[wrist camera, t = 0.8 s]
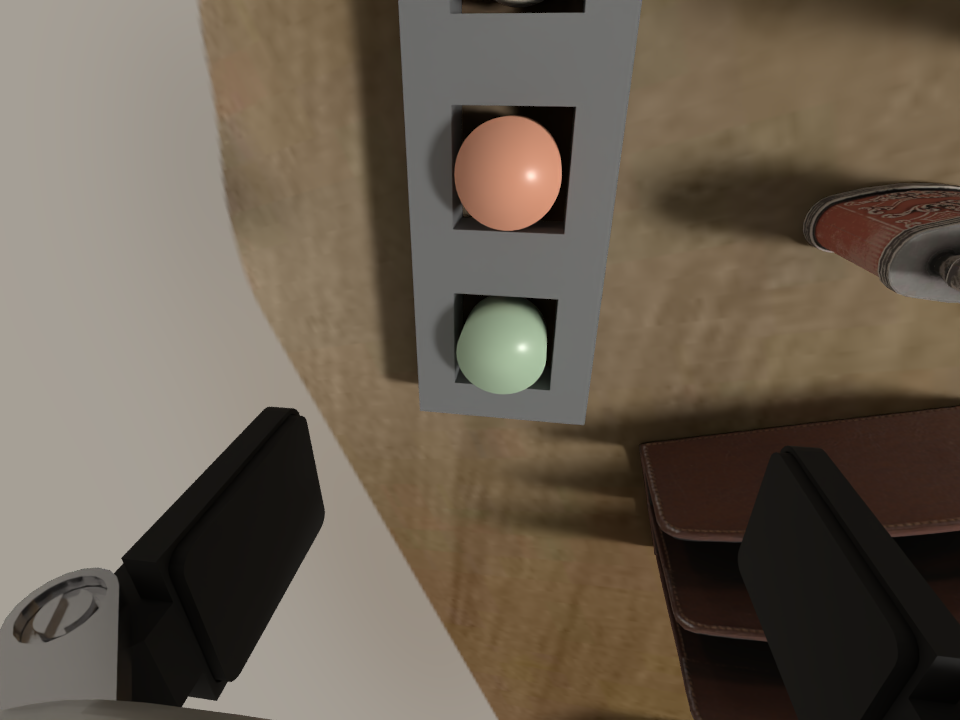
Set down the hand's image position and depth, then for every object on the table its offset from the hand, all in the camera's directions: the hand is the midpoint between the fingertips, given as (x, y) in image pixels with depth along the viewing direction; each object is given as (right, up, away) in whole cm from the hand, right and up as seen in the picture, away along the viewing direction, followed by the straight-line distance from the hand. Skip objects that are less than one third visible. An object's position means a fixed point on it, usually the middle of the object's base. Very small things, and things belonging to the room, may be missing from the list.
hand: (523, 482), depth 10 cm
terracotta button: (+1, +12, +14) cm, 19 cm away
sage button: (+1, +4, +19) cm, 19 cm away
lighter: (+20, +10, +15) cm, 26 cm away
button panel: (+1, +13, +16) cm, 20 cm away
